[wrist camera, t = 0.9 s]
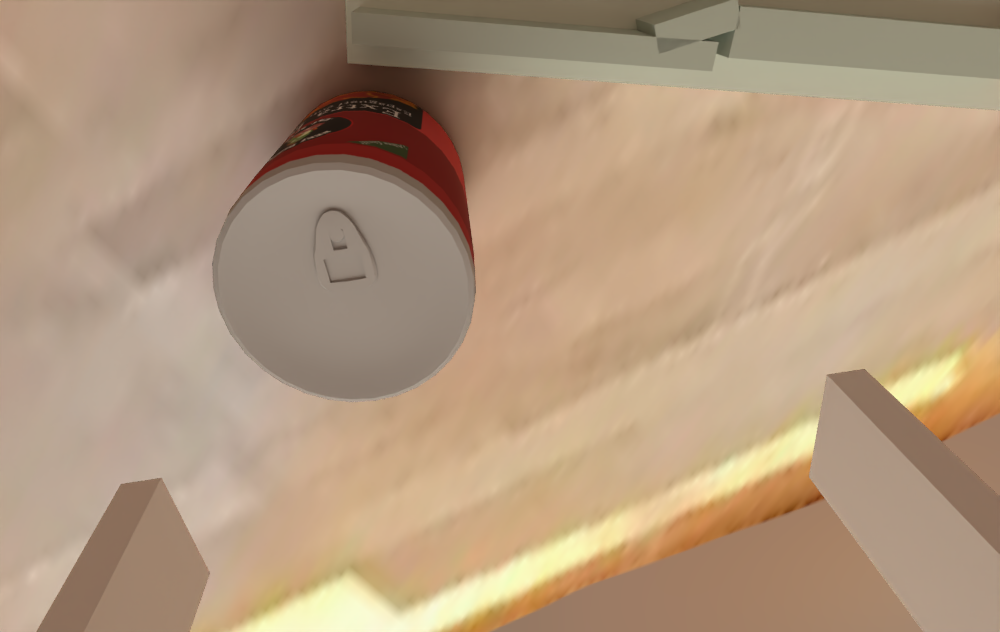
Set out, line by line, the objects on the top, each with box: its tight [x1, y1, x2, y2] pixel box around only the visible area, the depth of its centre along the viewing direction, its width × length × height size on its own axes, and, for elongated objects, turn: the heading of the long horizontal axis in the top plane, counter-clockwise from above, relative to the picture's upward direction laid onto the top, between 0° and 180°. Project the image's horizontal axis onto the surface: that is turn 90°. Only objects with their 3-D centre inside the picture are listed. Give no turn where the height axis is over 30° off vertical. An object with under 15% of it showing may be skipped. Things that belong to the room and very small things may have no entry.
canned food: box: [212, 91, 476, 402], centre depth 23 cm, size 8×8×11 cm
